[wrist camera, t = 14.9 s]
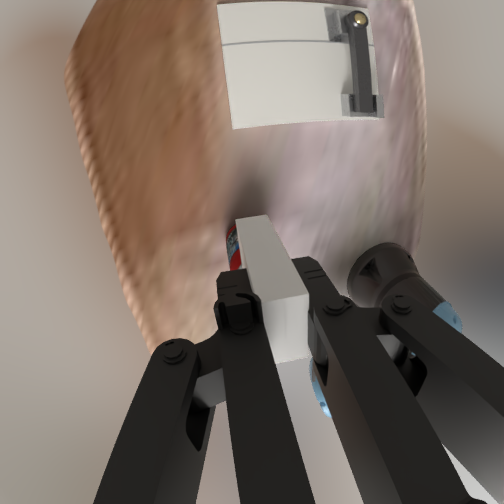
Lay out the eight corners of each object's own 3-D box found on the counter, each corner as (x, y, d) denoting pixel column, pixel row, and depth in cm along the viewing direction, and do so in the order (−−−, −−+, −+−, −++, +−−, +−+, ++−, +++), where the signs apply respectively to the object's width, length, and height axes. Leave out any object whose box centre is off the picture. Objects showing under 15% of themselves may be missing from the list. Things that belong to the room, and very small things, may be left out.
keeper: (369, 115, 43) (386, 117, 38) (342, 115, 42) (357, 117, 38) (368, 94, 41) (385, 95, 36) (340, 94, 40) (355, 93, 36)
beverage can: (230, 215, 48) (238, 248, 38) (270, 223, 50) (289, 257, 39) (221, 252, 51) (226, 293, 40) (259, 259, 53) (273, 300, 42)
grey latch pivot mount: (363, 44, 37) (372, 41, 34) (328, 41, 36) (336, 38, 34) (358, 12, 34) (366, 8, 31) (323, 8, 34) (331, 3, 31)
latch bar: (342, 12, 31) (350, 8, 29) (361, 14, 32) (368, 11, 30) (351, 111, 39) (359, 112, 37) (369, 112, 39) (377, 113, 37)
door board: (376, 119, 44) (380, 120, 43) (232, 128, 42) (232, 129, 41) (365, 10, 35) (368, 8, 34) (216, 6, 33) (217, 4, 32)
